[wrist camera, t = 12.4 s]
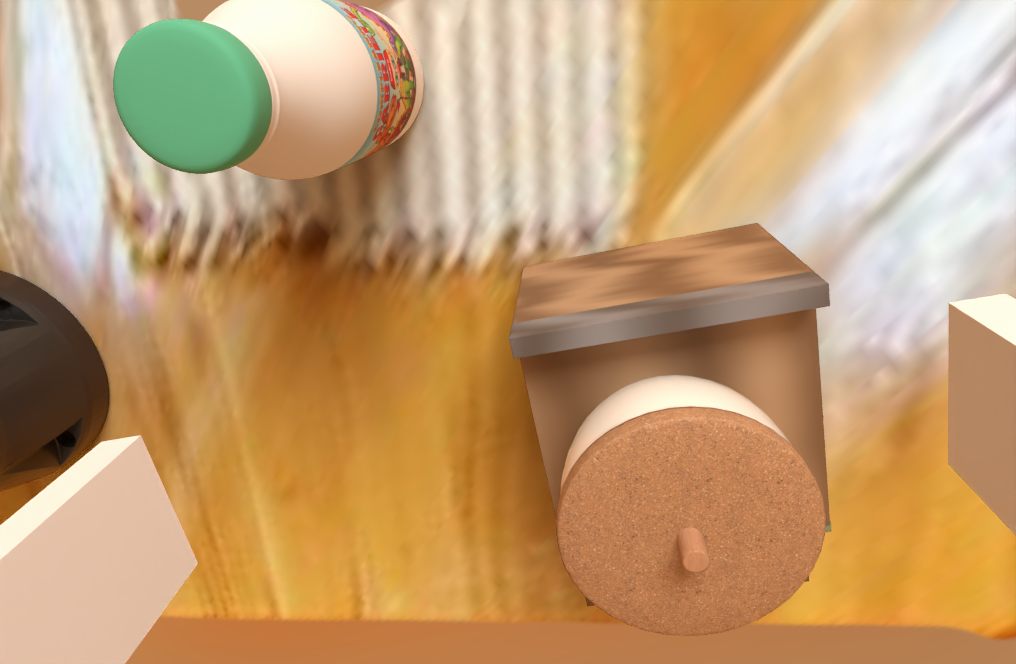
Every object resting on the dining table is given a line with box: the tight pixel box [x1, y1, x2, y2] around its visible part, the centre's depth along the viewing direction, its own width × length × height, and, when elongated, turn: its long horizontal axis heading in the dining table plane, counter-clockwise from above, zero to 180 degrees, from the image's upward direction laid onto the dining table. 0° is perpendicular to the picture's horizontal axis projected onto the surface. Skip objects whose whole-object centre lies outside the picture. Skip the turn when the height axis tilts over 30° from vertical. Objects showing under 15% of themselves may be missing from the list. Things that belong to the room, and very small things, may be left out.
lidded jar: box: [556, 375, 826, 636], centre depth 31 cm, size 11×11×9 cm
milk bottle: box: [113, 0, 424, 180], centre depth 31 cm, size 8×8×20 cm
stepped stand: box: [509, 223, 831, 606], centre depth 40 cm, size 14×22×12 cm, turn 12°
